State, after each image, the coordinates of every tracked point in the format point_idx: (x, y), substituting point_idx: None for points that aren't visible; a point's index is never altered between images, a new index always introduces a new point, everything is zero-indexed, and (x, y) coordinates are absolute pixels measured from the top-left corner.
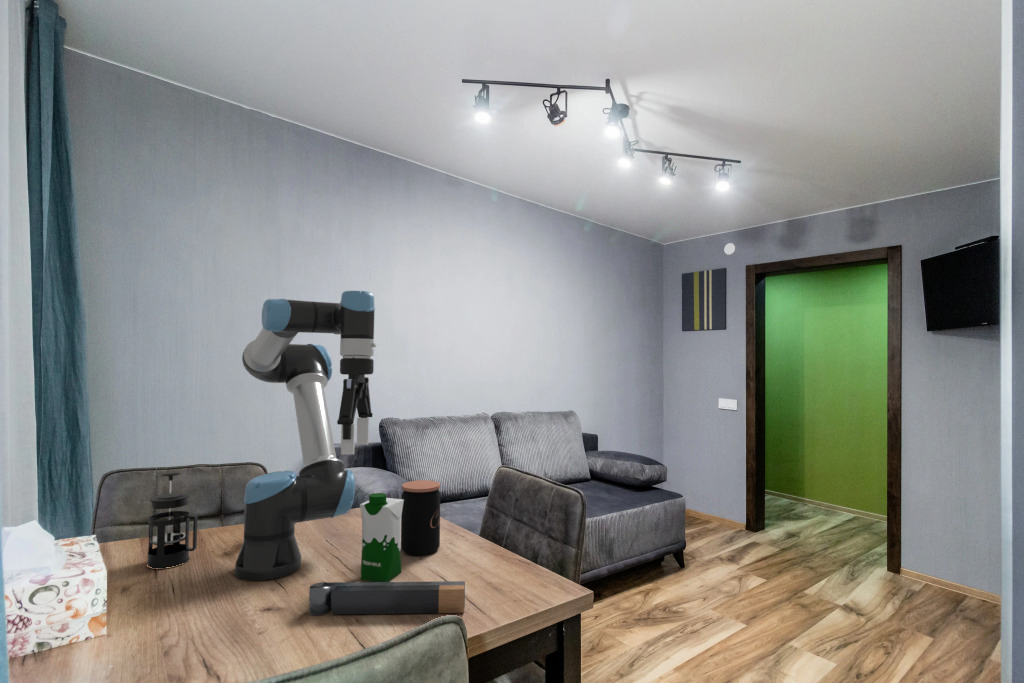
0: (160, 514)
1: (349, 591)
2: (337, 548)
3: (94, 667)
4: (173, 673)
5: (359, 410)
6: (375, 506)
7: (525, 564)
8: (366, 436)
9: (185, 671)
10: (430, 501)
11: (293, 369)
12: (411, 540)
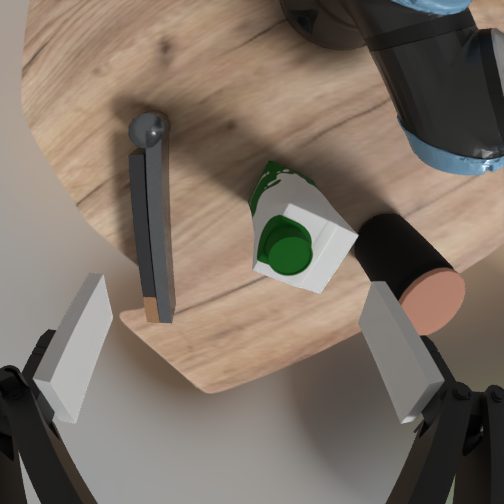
0: None
1: (130, 181)
2: None
3: None
4: (26, 34)
5: (428, 438)
6: (263, 244)
7: (293, 359)
8: (372, 344)
9: (27, 42)
10: None
11: None
12: (366, 241)
